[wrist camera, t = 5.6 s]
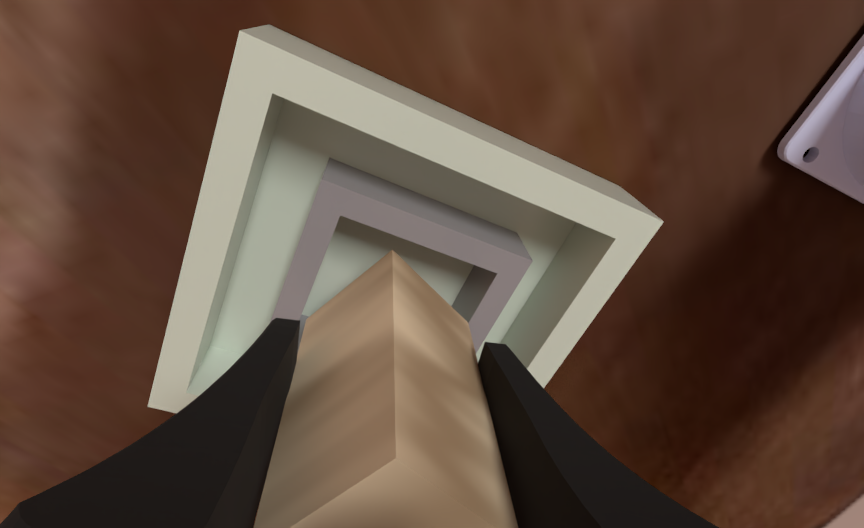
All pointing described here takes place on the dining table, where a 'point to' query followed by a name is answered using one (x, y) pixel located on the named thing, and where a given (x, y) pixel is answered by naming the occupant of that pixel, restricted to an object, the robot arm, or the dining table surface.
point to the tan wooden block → (386, 417)
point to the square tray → (382, 217)
